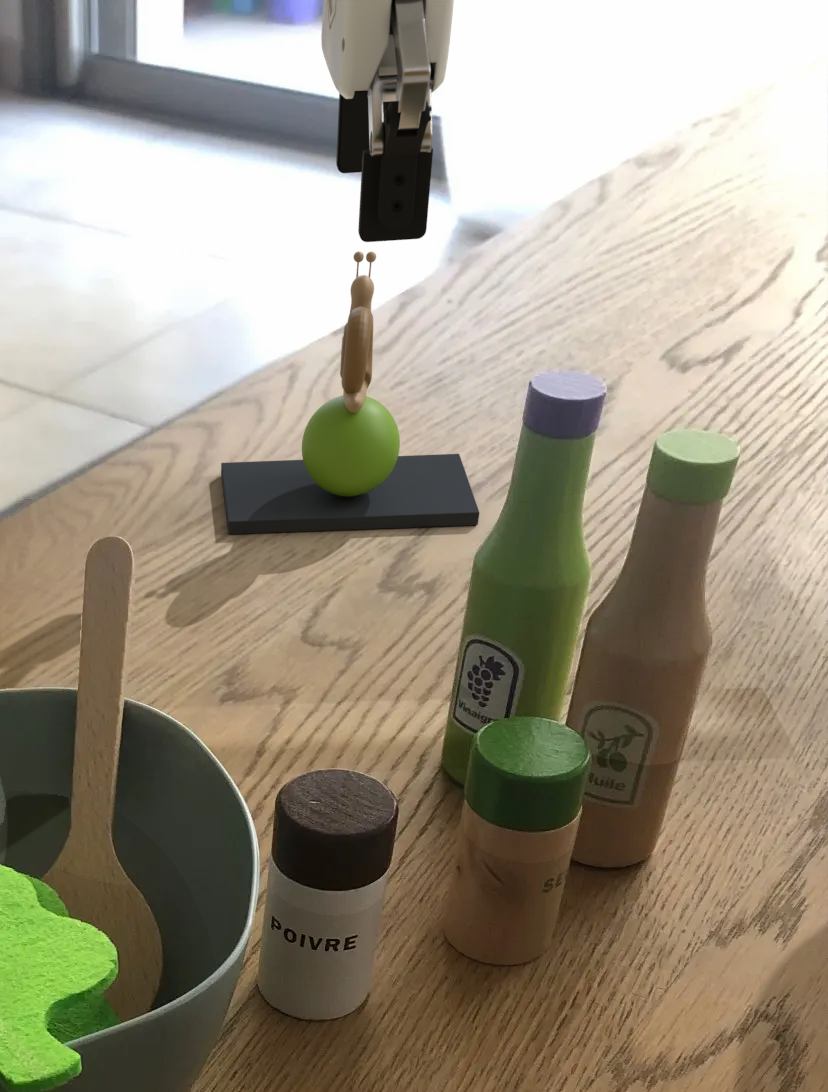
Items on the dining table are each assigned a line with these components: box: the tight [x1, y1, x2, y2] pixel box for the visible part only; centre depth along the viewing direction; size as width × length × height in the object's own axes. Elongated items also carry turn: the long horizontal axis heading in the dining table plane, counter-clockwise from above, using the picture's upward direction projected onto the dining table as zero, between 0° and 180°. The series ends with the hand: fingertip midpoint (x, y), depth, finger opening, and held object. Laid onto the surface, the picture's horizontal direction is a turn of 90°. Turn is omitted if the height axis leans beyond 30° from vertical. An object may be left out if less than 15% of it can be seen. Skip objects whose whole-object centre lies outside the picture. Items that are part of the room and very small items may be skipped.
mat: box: [220, 453, 480, 535], centre depth 94 cm, size 14×7×1 cm, turn 90°
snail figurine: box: [301, 250, 401, 497], centre depth 89 cm, size 5×6×12 cm
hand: (378, 202), depth 82 cm, fingers open, 9 cm apart
